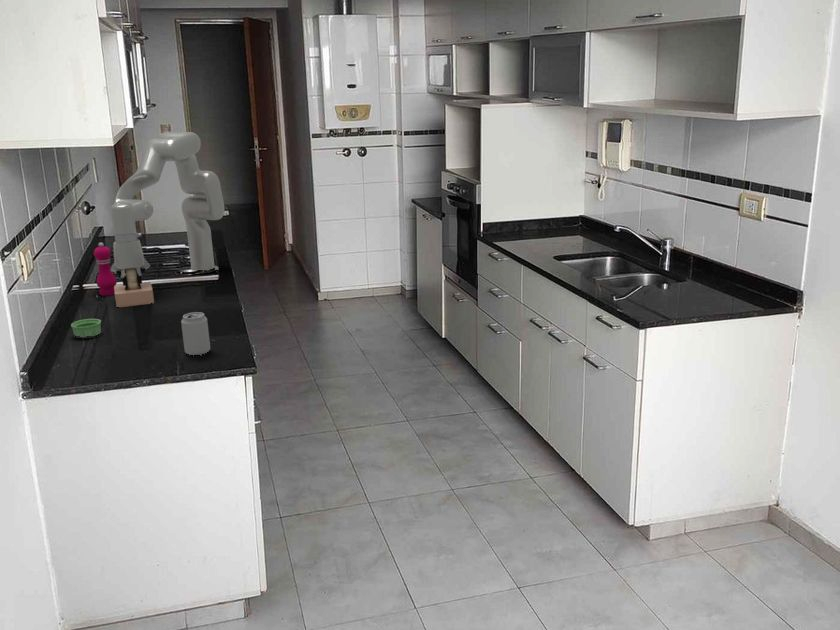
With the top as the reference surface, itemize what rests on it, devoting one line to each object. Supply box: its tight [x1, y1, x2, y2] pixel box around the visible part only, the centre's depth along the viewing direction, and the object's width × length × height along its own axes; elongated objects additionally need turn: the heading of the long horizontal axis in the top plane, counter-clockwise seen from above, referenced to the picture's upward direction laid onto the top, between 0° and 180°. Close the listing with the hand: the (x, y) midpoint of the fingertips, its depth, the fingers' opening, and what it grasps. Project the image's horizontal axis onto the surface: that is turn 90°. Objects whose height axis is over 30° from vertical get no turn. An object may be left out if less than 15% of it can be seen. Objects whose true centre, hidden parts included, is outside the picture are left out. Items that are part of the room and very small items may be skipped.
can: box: [180, 311, 211, 357], centre depth 239 cm, size 8×8×12 cm
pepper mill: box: [93, 242, 118, 297], centre depth 306 cm, size 7×7×20 cm
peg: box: [125, 268, 139, 290], centre depth 295 cm, size 4×4×10 cm
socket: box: [114, 281, 155, 308], centre depth 297 cm, size 13×13×5 cm
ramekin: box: [70, 318, 102, 337], centre depth 259 cm, size 9×9×4 cm
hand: (132, 286), depth 296 cm, fingers closed on peg, 3 cm apart
